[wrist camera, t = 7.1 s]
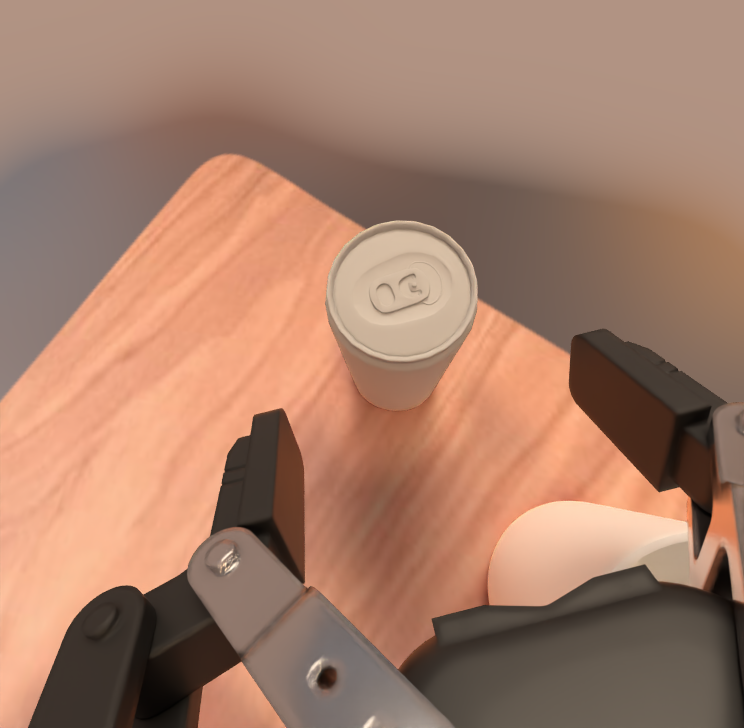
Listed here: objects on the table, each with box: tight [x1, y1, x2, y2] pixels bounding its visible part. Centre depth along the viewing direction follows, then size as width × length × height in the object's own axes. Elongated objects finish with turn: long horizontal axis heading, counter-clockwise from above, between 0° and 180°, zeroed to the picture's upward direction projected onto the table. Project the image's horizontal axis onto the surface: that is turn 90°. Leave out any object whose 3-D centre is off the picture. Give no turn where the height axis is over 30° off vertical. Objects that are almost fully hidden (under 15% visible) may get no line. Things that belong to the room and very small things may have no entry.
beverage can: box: [325, 221, 477, 411], centre depth 19 cm, size 5×5×12 cm
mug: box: [488, 501, 689, 606], centre depth 16 cm, size 9×12×11 cm
